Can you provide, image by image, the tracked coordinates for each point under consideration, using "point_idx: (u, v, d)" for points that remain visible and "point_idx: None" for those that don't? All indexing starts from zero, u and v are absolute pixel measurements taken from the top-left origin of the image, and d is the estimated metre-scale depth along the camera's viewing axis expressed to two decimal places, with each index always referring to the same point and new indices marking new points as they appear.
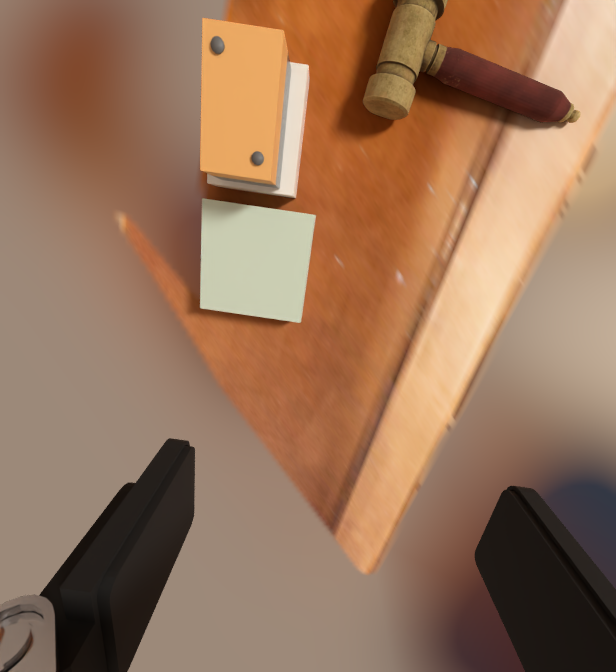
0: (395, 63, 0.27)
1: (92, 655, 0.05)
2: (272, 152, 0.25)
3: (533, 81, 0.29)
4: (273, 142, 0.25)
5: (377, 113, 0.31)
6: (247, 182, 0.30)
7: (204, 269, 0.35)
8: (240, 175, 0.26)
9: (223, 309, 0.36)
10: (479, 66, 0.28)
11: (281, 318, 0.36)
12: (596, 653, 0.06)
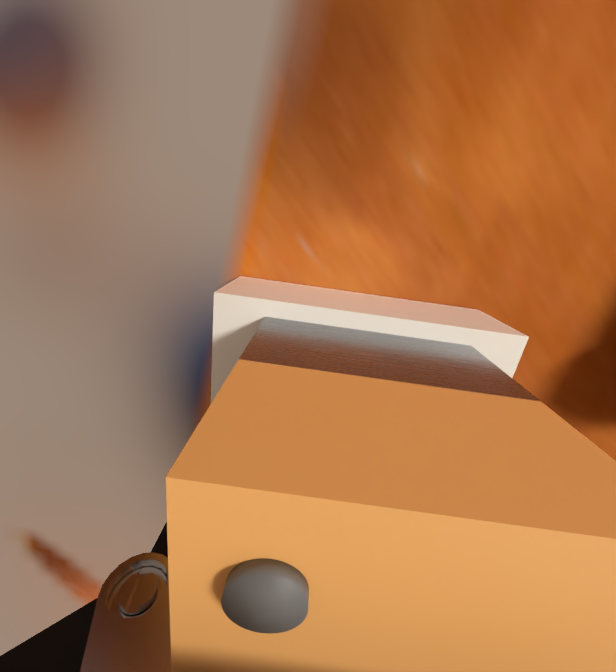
0: None
1: None
2: None
3: None
4: None
5: None
6: None
7: None
8: None
9: None
10: None
11: None
12: None
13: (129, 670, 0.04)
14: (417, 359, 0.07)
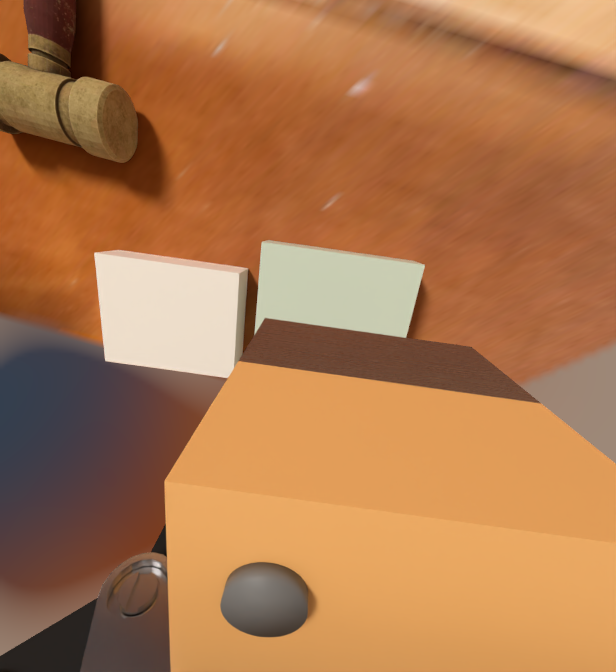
0: (59, 114, 0.20)
1: None
2: None
3: None
4: None
5: (133, 139, 0.23)
6: None
7: None
8: None
9: None
10: None
11: (414, 295, 0.23)
12: None
13: (129, 670, 0.04)
14: (417, 360, 0.07)
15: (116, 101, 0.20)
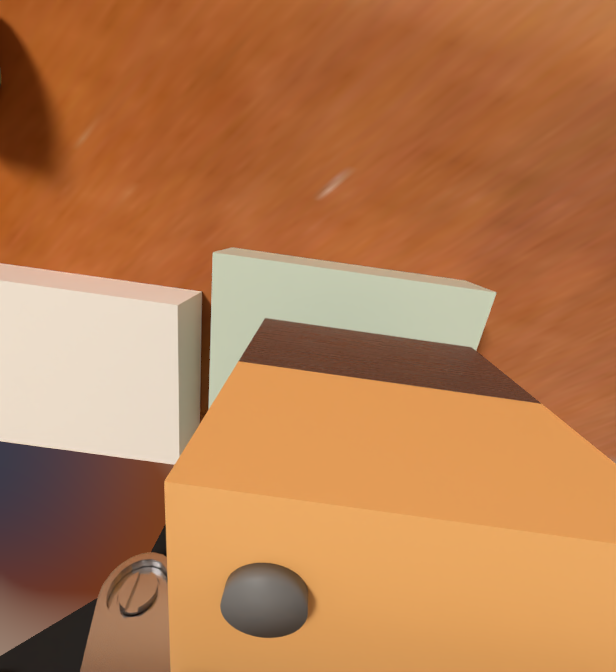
0: None
1: None
2: None
3: None
4: None
5: None
6: None
7: None
8: None
9: None
10: None
11: (474, 342, 0.14)
12: None
13: (129, 670, 0.04)
14: (417, 360, 0.07)
15: None
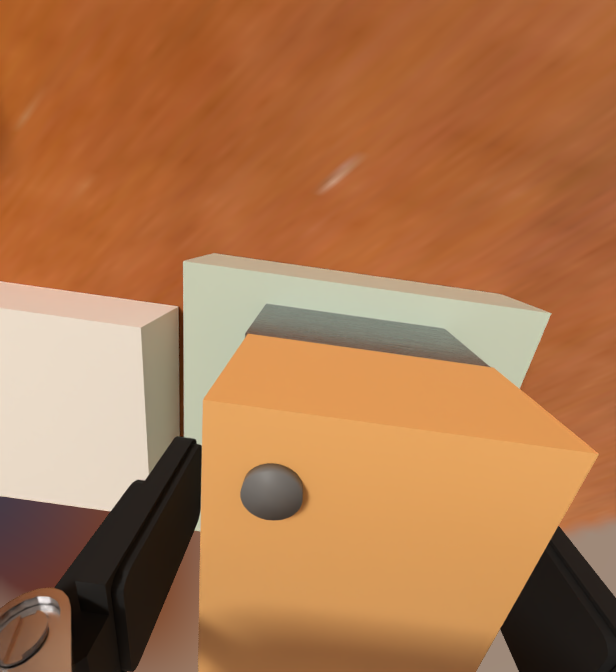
0: None
1: (106, 647, 0.05)
2: None
3: None
4: None
5: None
6: None
7: None
8: None
9: None
10: None
11: (519, 375, 0.11)
12: (582, 643, 0.06)
13: None
14: (394, 336, 0.09)
15: None
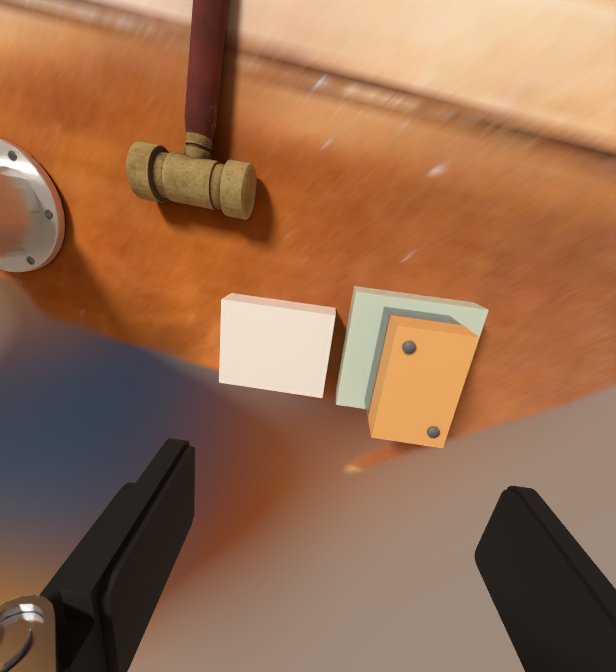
0: (210, 189, 0.26)
1: (92, 655, 0.05)
2: (448, 426, 0.25)
3: None
4: (451, 419, 0.25)
5: (253, 200, 0.29)
6: None
7: None
8: (412, 442, 0.26)
9: None
10: (195, 83, 0.24)
11: (478, 333, 0.28)
12: (596, 653, 0.06)
13: None
14: (432, 317, 0.27)
15: (250, 176, 0.26)
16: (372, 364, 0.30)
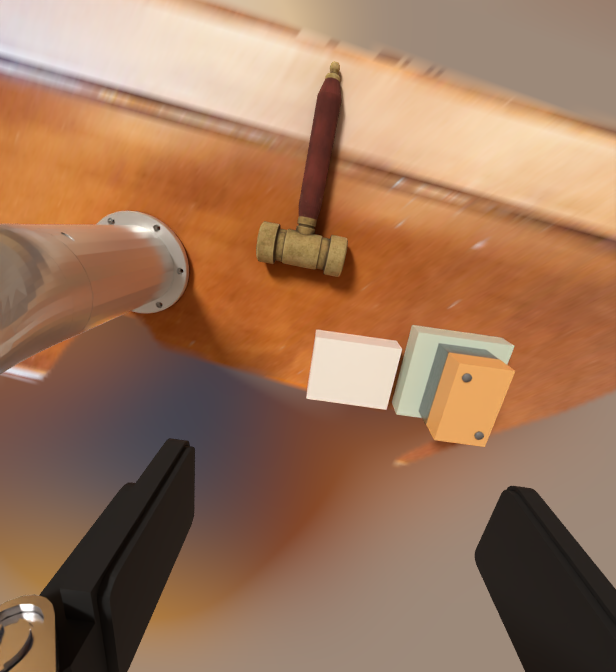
0: (318, 258, 0.35)
1: (92, 655, 0.05)
2: (489, 431, 0.35)
3: (315, 127, 0.32)
4: (491, 426, 0.35)
5: None
6: None
7: None
8: (463, 443, 0.36)
9: None
10: (311, 184, 0.33)
11: (506, 362, 0.39)
12: (596, 653, 0.06)
13: None
14: (476, 352, 0.37)
15: None
16: (427, 384, 0.40)
